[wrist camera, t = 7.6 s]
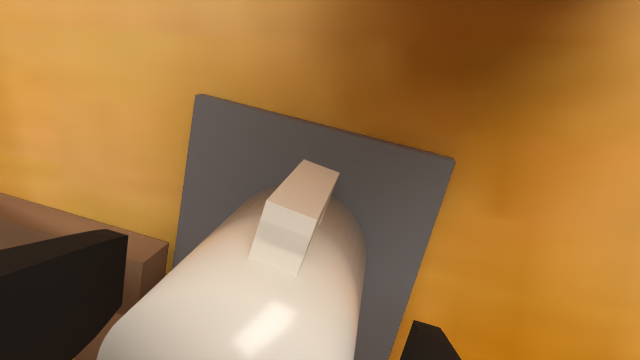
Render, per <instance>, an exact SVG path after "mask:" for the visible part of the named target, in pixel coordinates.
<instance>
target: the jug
mask: <svg viewBox="0 0 640 360" xmlns="http://www.w3.org/2000/svg"><path fill="white" fill-rule="evenodd" d="M339 174H340V173H339V172H336V171H334V170H331V169H328V168H326V167H323V166H320V165H318V164H315V163H312V162H310V161H307V160H303V161H302V162H301V163H300V164H299V165H298V166H297V167H296V168H295V170H294V171H293V172H292V173H291V174H290V175H289V176H288V177H287V178H286V179H285V180H284V181H283V183H282V184H278V185H274V186H270V187H267V188H265V189H262V190H261V191H259V192H257V193H255V194H254V195H252V196H251V197H250V198H248V199H247V200H246V201H245V202H244V203H243V204H242V205H241V206H240V207H239V208H238V209H237V210H236V211H234V212H233V213H232V214H231V215H230V216H229V217H228V218H227V219H226V220H225V221H224V222H223V223H222V224H221V225H220V226H218V227H217V228H216V229H215V230H214V231H213V232H212V233H211V234H210V235H209V236H208V237H207V238H206V239H205V240H204V241H202V242H201V243H200V244H199V245H198V246H197V247H196V248H195V249H194V250H193V251H192V252H191V253H190V254H189V255H188V256H186V257H185V258H184V259H183V260H182V261H181V262H180V263H179V264H178V265H177V266H176V267H175V268H174V269H173V270H172V271H170V272H169V273H168V274H167V275H166V276H165V277H164V278H163V279H162V280H161V281H160V282H159V283H158V284H157V285H156V286H155V287H153V288H152V289H151V290H150V291H149V292H148V293H147V294H146V295H145V296H144V297H143V298H142V299H141V300H140V301H139V302H137V303H136V304H135V305H134V306H133V307H132V308H131V309H130V310H129V311H128V312H127V313H126V314H125V315H124V316H123V317H122V318H120V319H119V320H118V321H117V322H116V323H115V324H114V325H113V327H112V328H111V329H110V331H109V332H108V334H107V335H106V336H105V338H104V340H103V342H102V345H101V347H100V349H99V352H98V356H97V359H96V360H354V352H355V344H356V337H357V329H358V321H359V313H360V305H361V297H362V290H363V282H364V274H365V266H366V243H365V239H364V235H363V232H362V230H361V227H360V225H359V224H358V222H357V220H356V218H355V217H354V216H353V214H352V213H351V212H350V210H349V209H348V208H347V207H346V206H345V205H344V204H343V203H342V202H340V201H339V200H338V199H337V198H335V197H334V196H332V192H333V190H334V187H335V184H336V182H337V179H338V176H339Z"/></svg>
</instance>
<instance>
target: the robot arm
mask: <svg viewBox="0 0 640 360" xmlns="http://www.w3.org/2000/svg"><path fill="white" fill-rule="evenodd" d="M128 236H129V235H126V234H122V233H119V232H116V231H112V230H109V229H100V230H92V231H87V232H81V233H76V234H71V235H67V236H62V237H57V238H53V239H48V240H43V241H39V242H34V243H29V244H25V245H20V246H16V247H11V248H6V249H1V250H0V360H72V359H73V358H74V357H76V356H77V355H78V354H79V353H80V352H81V351H82V350H83V349H84V348H85V347H86V346H87V345H88V344H89V343H90V342H91V341H92V340H93V339H94V338H95V337H96V336H97V335H98V334H99V332H100V331H101V330H102V329H103V328H104V327H105V325H106V324H107V323H108V322H109V321H110V319H111V318H112V317H113V316H114V314H115V313H116V312H117V311H118V309H119V308H120V307H121V306H122V299H123V289H124V278H125V268H126V257H127V247H128ZM400 360H461V359H460V357H459V356H458V354H457V352H456V351H455V349H454V348H453V346H452V345H451V343H450V342H449V340H448V339H447V337H446V336H445V334H444V333H443V331H442V330H441V328H439V327H436V326H432V325H429V324H426V323H422V322H419V321H415V320H414V321H413V324H412V327H411V330H410V333H409V335H408V338H407V341H406V344H405V347H404V350H403V353H402V355H401V358H400Z"/></svg>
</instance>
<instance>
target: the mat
mask: <svg viewBox="0 0 640 360" xmlns="http://www.w3.org/2000/svg"><path fill="white" fill-rule="evenodd" d="M303 160H307V161H310V162H312V163H315V164H318V165H320V166H323V167H326V168H328V169H331V170H334V171H336V172H339V173H340V174H339V176H338V179H337V182H336V184H335V187H334V190H333V192H332V196H334V197H335V198H337V199H338V200H339V201H340V202H342V203H343V204H344V205H345V206H346V207H347V208H348V209H349V210H350V212H351V213H352V214H353V216H354V217H355V218H356V220H357V222H358V224H359V225H360V227H361V230H362V232H363V235H364V239H365V243H366V266H365V274H364V282H363V290H362V297H361V305H360V313H359V321H358V329H357V337H356V344H355V352H354V360H388V359H389V356H390V353H391V350H392V347H393V344H394V341H395V338H396V335H397V332H398V329H399V326H400V323H401V321H402V318H403V315H404V312H405V309H406V306H407V303H408V300H409V297H410V294H411V291H412V288H413V285H414V282H415V279H416V277H417V274H418V271H419V268H420V265H421V262H422V259H423V256H424V253H425V250H426V247H427V244H428V241H429V238H430V235H431V232H432V230H433V227H434V224H435V221H436V218H437V215H438V212H439V209H440V206H441V203H442V200H443V197H444V194H445V191H446V188H447V185H448V183H449V180H450V177H451V174H452V171H453V168H454V165H455V160H454V159H453V158H450V157H446V156H442V155H439V154H435V153H431V152H427V151H423V150H419V149H415V148H411V147H407V146H404V145H400V144H396V143H392V142H388V141H384V140H380V139H376V138H372V137H369V136H365V135H361V134H357V133H353V132H349V131H345V130H341V129H337V128H334V127H330V126H326V125H322V124H318V123H314V122H310V121H306V120H302V119H299V118H295V117H291V116H287V115H283V114H279V113H275V112H271V111H267V110H264V109H260V108H256V107H252V106H248V105H244V104H240V103H236V102H232V101H229V100H225V99H221V98H217V97H213V96H209V95H205V94H198V95H195V103H194V110H193V118H192V125H191V133H190V140H189V148H188V156H187V163H186V171H185V178H184V186H183V193H182V201H181V208H180V216H179V223H178V231H177V239H176V246H175V254H174V261H173V269H174V268H175V267H176V266H177V265H178V264H179V263H180V262H181V261H182V260H183V259H184V258H185V257H186V256H188V255H189V254H190V253H191V252H192V251H193V250H194V249H195V248H196V247H197V246H198V245H199V244H200V243H201V242H202V241H204V240H205V239H206V238H207V237H208V236H209V235H210V234H211V233H212V232H213V231H214V230H215V229H216V228H217V227H218V226H220V225H221V224H222V223H223V222H224V221H225V220H226V219H227V218H228V217H229V216H230V215H231V214H232V213H233V212H234V211H236V210H237V209H238V208H239V207H240V206H241V205H242V204H243V203H244V202H245V201H246V200H247V199H248V198H250V197H251V196H252V195H254V194H255V193H257V192H259V191H261V190H262V189H265V188H267V187H270V186H274V185H278V184H282V183H283V181H284V180H285V179H286V178H287V177H288V176H289V175H290V174H291V173H292V172H293V171H294V170H295V168H296V167H297V166H298V165H299V164H300V163H301V162H302V161H303ZM173 269H172V270H173Z"/></svg>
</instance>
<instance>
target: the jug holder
mask: <svg viewBox="0 0 640 360" xmlns="http://www.w3.org/2000/svg"><path fill="white" fill-rule="evenodd" d="M100 229H109V230H112V231H116V232H119V233H122V234H126V235H129V236H128V247H127V257H126V268H125V278H124V289H123V299H122V306H121V307H120V308H119V309H118V311H117V312H116V313H115V314H114V316H113V317H112V318H111V319H110V321H109V322H108V323H107V324H106V325H105V327H104V328H103V329H102V330H101V331H100V332H99V334H98V335H97V336H96V337H95V338H94V339H93V340H92V341H91V342H90V343H89V344H88V345H87V346H86V347H85V348H84V349H83V350H82V351H81V352H80V353H79V354H78V355H77V356H76V357H75V360H96V359H97V356H98V352H99V349H100V347H101V345H102V342H103V340H104V338H105V336H106V335H107V334H108V332H109V331H110V329H111V328H112V327H113V325H114V324H115V323H116V322H117V321H118V320H119V319H120V318H122V317H123V316H124V315H125V314H126V313H127V312H128V311H129V310H130V309H131V308H132V307H133V306H134V305H135V304H136V303H137V302H139V301H140V300H141V299H142V298H143V297H144V296H145V295H146V294H147V293H148V292H149V291H150V290H151V289H152V288H153V287H155V286H156V285H157V284H158V283H159V282H160V281H161V280H162V279H163V278H164V276H165V268H166V260H167V252H168V244H169V243H168V242H165V241H161V240H158V239H155V238H151V237H148V236H144V235H141V234H138V233H134V232H131V231H128V230H124V229H121V228H117V227H114V226H111V225H107V224H104V223H100V222H97V221H94V220H90V219H87V218H84V217H80V216H77V215H73V214H70V213H67V212H63V211H60V210H57V209H53V208H50V207H46V206H43V205H40V204H36V203H33V202H30V201H26V200H23V199H19V198H16V197H13V196H9V195H6V194H3V193H0V250H1V249H6V248H11V247H16V246H20V245H25V244H29V243H34V242H39V241H43V240H48V239H53V238H57V237H62V236H67V235H71V234H76V233H81V232H87V231H92V230H100Z"/></svg>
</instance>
